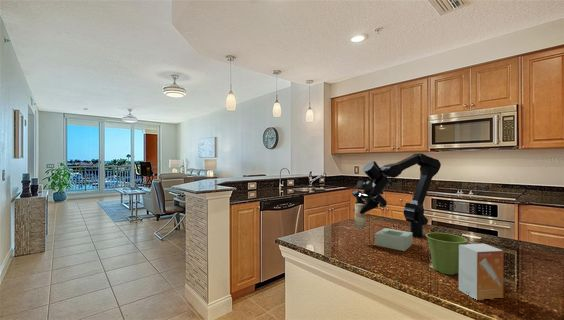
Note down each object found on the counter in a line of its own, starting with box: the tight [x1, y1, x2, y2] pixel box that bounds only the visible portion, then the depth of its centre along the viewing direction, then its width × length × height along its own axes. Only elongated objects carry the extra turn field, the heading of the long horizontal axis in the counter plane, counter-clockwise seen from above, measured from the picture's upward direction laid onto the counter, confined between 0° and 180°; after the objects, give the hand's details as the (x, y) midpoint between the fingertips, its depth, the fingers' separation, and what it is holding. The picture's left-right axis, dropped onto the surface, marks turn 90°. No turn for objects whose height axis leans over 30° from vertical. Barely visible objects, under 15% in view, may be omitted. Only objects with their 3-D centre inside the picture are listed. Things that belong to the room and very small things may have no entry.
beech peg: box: [354, 203, 366, 229], centre depth 119 cm, size 4×4×10 cm
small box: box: [458, 243, 505, 301], centre depth 73 cm, size 8×6×13 cm
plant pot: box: [425, 232, 468, 276], centre depth 88 cm, size 12×12×11 cm
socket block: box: [374, 227, 414, 252], centre depth 116 cm, size 12×12×5 cm
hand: (357, 212), depth 118 cm, fingers closed on beech peg, 4 cm apart
